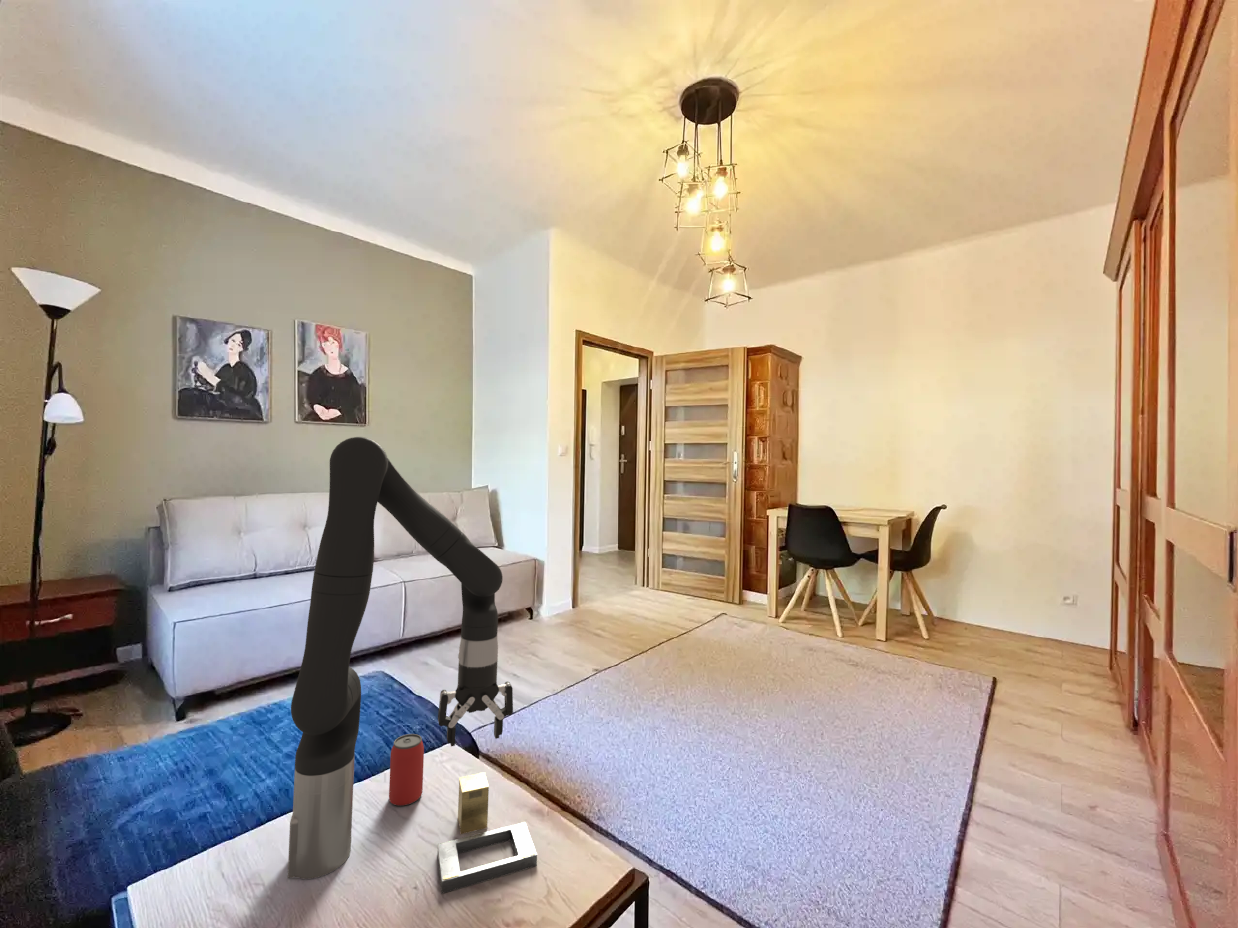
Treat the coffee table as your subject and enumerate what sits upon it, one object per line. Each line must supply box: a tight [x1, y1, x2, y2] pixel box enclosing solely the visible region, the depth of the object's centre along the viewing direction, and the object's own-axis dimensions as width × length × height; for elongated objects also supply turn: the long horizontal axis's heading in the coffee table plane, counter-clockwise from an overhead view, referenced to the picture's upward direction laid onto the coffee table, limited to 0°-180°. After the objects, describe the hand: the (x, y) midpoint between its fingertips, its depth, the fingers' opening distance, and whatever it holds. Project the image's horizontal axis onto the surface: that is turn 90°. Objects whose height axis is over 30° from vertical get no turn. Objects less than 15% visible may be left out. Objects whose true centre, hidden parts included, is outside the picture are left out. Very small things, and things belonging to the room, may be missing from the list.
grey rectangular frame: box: [436, 821, 538, 894], centre depth 90 cm, size 16×9×2 cm, turn 114°
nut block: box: [457, 772, 490, 835], centre depth 100 cm, size 5×5×8 cm
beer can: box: [388, 733, 425, 807], centre depth 107 cm, size 7×7×12 cm
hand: (474, 740), depth 100 cm, fingers open, 8 cm apart
